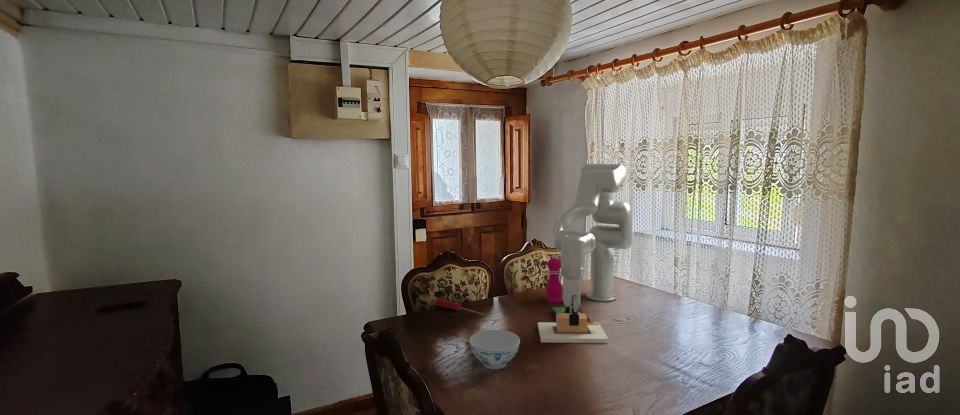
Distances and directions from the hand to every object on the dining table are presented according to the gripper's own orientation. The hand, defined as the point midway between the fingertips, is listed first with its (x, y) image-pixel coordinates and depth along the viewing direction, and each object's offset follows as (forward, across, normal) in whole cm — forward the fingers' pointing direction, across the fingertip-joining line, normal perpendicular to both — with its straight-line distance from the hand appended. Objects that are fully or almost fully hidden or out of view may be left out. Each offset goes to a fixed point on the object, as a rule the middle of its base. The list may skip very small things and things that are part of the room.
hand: (571, 319), depth 155 cm
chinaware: (+5, +24, -26) cm, 36 cm away
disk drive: (+6, -15, +1) cm, 17 cm away
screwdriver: (+6, -21, -41) cm, 47 cm away
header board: (+5, 0, 0) cm, 5 cm away
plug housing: (+4, 0, +2) cm, 4 cm away
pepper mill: (+6, -36, -2) cm, 36 cm away
